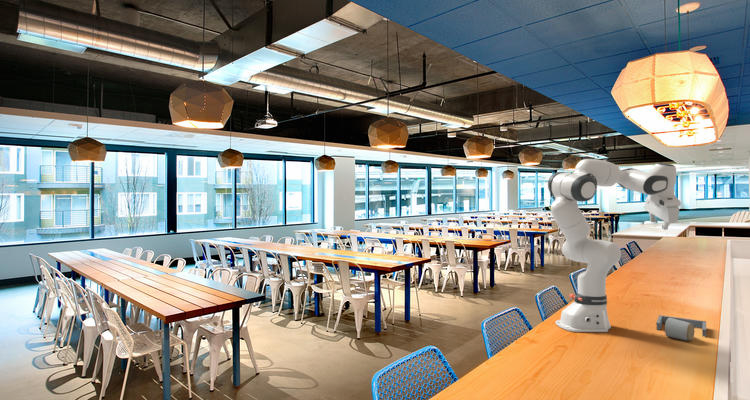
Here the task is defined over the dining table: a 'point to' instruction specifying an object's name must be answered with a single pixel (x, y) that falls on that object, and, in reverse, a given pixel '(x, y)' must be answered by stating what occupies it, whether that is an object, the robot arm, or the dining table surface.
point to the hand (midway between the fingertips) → (658, 225)
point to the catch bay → (694, 322)
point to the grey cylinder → (679, 329)
